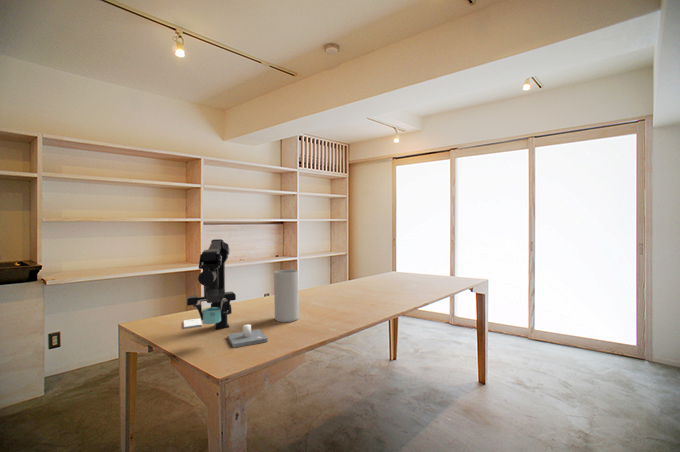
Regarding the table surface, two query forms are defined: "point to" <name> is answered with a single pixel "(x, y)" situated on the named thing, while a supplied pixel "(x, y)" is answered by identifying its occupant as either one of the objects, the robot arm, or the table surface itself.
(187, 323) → the external hard drive
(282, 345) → the table surface
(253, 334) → the flat gray panel
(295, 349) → the table surface
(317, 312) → the table surface
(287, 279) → the cylinder vase
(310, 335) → the table surface
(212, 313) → the mug with handle
